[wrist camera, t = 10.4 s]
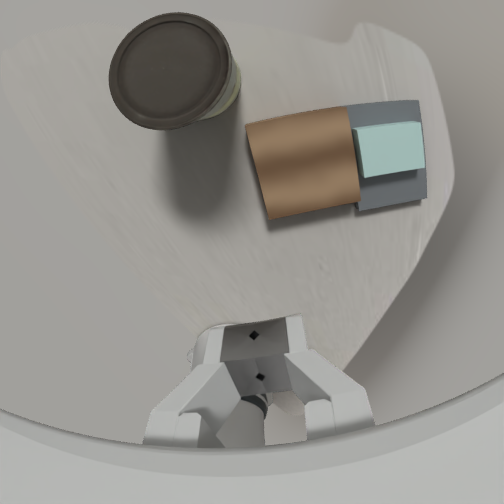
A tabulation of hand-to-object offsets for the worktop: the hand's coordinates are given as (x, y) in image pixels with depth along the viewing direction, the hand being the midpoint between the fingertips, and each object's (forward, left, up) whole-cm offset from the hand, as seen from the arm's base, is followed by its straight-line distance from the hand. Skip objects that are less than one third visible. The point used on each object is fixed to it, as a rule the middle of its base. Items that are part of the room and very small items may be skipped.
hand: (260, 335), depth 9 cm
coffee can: (+12, +4, -30) cm, 32 cm away
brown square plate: (-1, -6, -30) cm, 30 cm away
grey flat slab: (-2, -17, -30) cm, 34 cm away
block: (-1, -17, -28) cm, 33 cm away
